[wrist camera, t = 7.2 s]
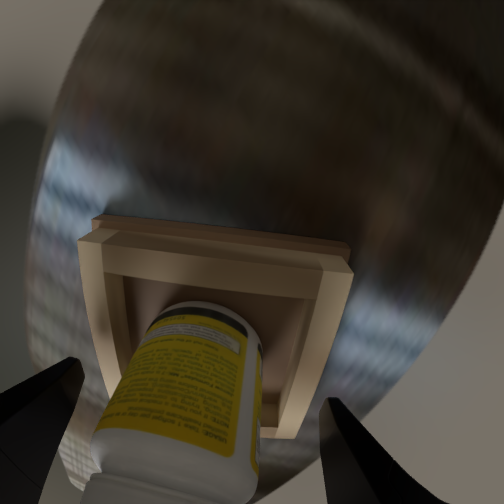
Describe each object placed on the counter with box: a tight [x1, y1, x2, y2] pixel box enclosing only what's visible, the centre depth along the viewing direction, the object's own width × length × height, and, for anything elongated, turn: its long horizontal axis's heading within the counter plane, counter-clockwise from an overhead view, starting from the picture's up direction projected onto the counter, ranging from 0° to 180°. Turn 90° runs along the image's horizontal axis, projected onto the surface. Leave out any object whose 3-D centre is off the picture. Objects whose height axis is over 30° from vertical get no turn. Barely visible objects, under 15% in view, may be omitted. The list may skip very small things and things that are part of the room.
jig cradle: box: [77, 214, 354, 439], centre depth 11 cm, size 10×10×2 cm
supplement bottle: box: [80, 301, 263, 504], centre depth 7 cm, size 5×5×8 cm
